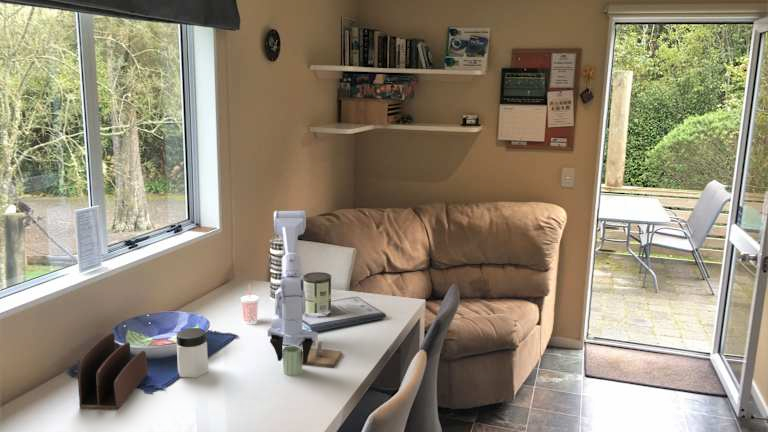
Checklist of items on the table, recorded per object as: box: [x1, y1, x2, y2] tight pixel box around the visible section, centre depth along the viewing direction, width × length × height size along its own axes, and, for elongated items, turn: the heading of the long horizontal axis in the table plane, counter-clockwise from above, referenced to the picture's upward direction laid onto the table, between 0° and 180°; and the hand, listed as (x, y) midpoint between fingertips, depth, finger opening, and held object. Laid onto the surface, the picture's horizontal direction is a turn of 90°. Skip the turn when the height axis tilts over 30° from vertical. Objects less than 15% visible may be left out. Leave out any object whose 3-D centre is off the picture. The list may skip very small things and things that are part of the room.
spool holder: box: [302, 340, 343, 369], centre depth 190 cm, size 12×10×6 cm
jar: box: [176, 327, 209, 379], centre depth 179 cm, size 9×8×12 cm
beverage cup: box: [240, 283, 260, 325], centre depth 217 cm, size 6×6×14 cm
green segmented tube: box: [282, 345, 303, 376], centre depth 181 cm, size 5×5×7 cm
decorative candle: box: [268, 235, 283, 303], centre depth 241 cm, size 9×9×25 cm
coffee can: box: [303, 271, 332, 313], centre depth 228 cm, size 10×10×14 cm
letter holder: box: [76, 331, 148, 411], centre depth 167 cm, size 10×20×14 cm, turn 179°
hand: (292, 360), depth 181 cm, fingers open, 7 cm apart
